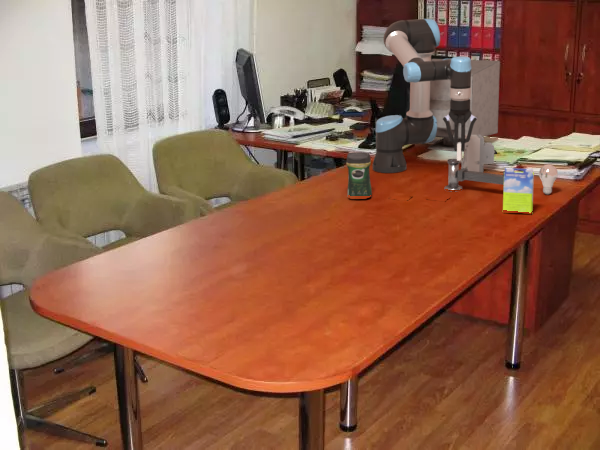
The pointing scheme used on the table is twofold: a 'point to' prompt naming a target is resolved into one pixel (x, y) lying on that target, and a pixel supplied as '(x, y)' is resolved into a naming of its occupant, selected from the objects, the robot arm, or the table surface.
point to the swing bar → (480, 176)
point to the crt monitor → (480, 103)
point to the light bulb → (548, 177)
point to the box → (518, 190)
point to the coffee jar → (359, 174)
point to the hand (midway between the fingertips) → (459, 159)
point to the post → (453, 175)
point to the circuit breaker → (477, 154)
